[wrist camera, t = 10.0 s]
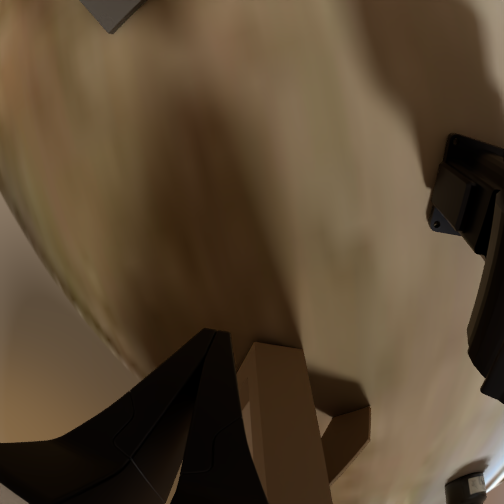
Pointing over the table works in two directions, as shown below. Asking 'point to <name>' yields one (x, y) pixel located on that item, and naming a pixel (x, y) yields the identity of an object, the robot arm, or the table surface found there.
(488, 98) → the table surface
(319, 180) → the table surface
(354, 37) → the table surface
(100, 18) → the stand plate
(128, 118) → the table surface
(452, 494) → the ink bottle
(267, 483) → the photo frame
